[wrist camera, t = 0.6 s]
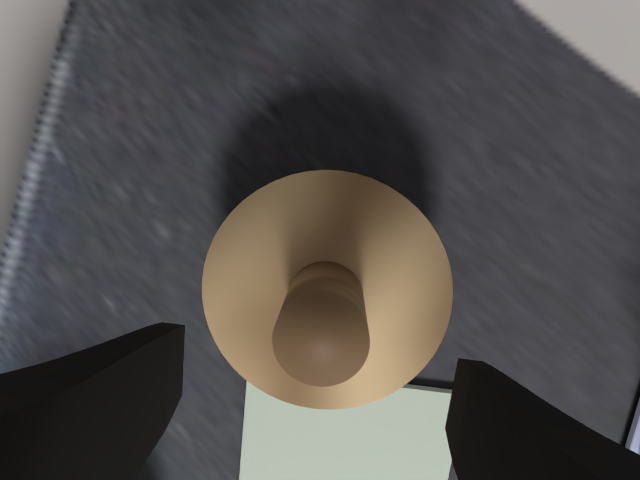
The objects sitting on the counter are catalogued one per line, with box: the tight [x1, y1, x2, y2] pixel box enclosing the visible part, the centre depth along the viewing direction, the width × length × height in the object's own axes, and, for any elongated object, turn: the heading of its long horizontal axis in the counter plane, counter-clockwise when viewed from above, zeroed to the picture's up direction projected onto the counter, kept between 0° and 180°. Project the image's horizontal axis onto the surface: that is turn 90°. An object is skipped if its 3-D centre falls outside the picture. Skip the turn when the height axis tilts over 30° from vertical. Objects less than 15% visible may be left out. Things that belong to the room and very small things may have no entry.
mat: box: [239, 381, 452, 480], centre depth 23 cm, size 11×11×1 cm
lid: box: [202, 170, 453, 410], centre depth 15 cm, size 10×10×5 cm
